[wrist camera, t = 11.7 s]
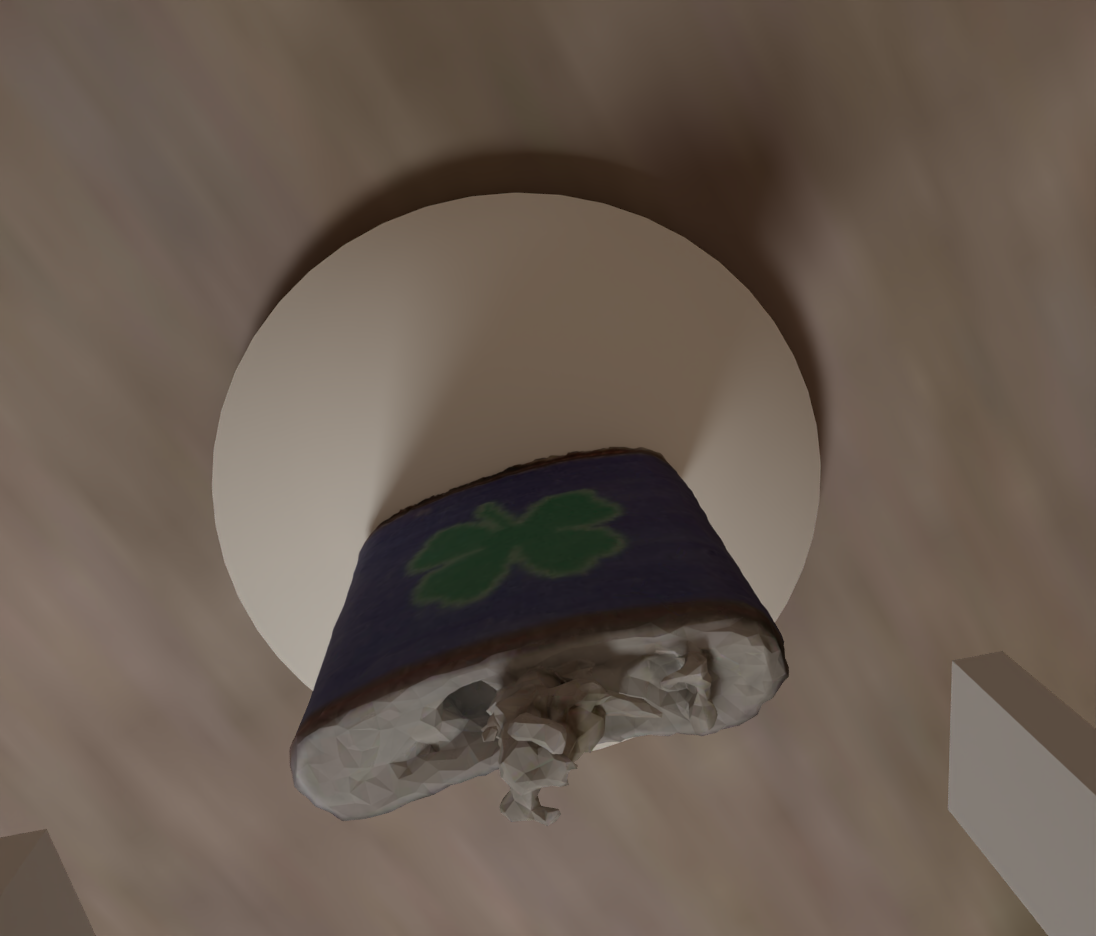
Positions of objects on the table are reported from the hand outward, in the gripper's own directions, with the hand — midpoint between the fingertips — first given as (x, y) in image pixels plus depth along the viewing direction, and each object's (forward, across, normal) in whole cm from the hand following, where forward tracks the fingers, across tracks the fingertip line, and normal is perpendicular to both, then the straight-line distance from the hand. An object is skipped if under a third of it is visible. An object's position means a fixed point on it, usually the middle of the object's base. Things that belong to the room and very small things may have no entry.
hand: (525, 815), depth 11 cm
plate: (+12, +1, 0) cm, 12 cm away
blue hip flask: (+11, +1, 0) cm, 11 cm away
